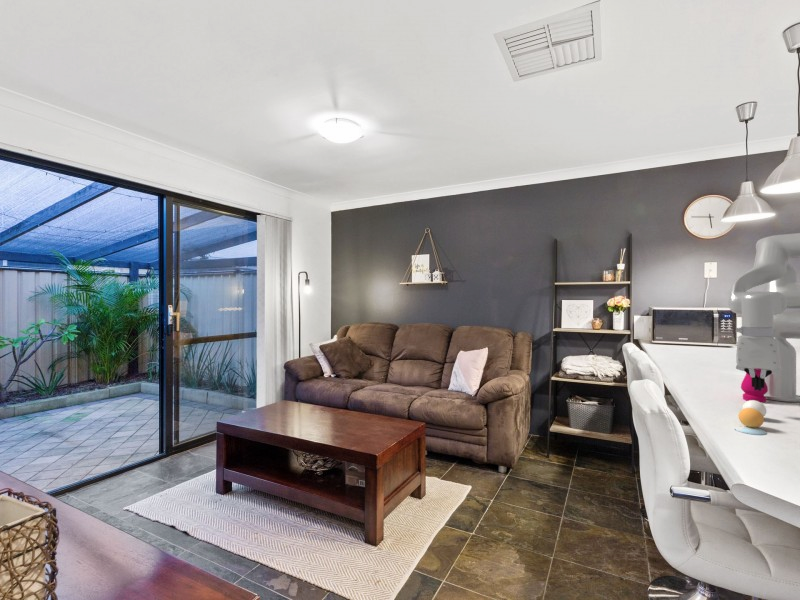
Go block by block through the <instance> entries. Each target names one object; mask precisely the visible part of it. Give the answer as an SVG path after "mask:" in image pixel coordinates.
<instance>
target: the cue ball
mask: <svg viewBox="0 0 800 600" xmlns="http://www.w3.org/2000/svg"><path fill="white" fill-rule="evenodd" d="M745 408H753V409H756V410H758V411H759V412H760V413H761V414H762V415H763V417H764V418H765V416H766V414H767V408H766V406H765V405H764V404H763V402H759V401H755V400H750V401H747V400H746V402H744V403H743V404H742V410H743V409H745Z"/></svg>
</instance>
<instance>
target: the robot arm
mask: <svg viewBox="0 0 800 600" xmlns="http://www.w3.org/2000/svg"><path fill="white" fill-rule="evenodd" d="M755 251H756V253H755V258H754V262H753V267H752V268H751V269H749V270H747V271H746V272H744V273H743V274H741V275H740V276H739V277H738V278H737V279H736V280H735V281H734V282H733V283H732V286H731V288H730V293H729V296H728V307H729V308H728V309H729V310H730V311H731V312H732V313H734V314H738V315H741V327H736V328H735V332H736V333H739V334H741V335H739V336H738V338H737V343H736V344H737V345H736V361H735V362H736V363H735V364H736V366H735V369H736V370H737V371H738V370H739V371H741V372H745V374H746V373H747V374H749V375H750V376H751V377H752V387H754V390H759V391H761V390H762V388H765V382H766V384H767V388H768V391H767V393H766V394H764V396H765V397H766V400H769V401H770V400H772V401H777V402H788V403H789V402H790V403H793V402H794V403H796V402H797V403H799V402H800V395H798V394H797V351H796V349H795V347H794V346H793V345H792V344H791V343H790V342H789V341H788V340H787V339H794V340H795V339H796V340H800V311H785V310H800V282H797V278H798V271H797V269H796V268H795V267H794V265H791V263H789V262H788V260H789V259H800V232H797V233H787V234H776V235H770V236H766V237H765V236H764V237H763V238H760V239H758V240H757V241H756V244H755ZM763 285H764V291H748V290H750V289H752V288H755V287H759V286H763ZM755 369H761V374H760V375H759V378H758V377H757V374H756V372H755Z"/></svg>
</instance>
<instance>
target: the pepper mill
mask: <svg viewBox="0 0 800 600" xmlns="http://www.w3.org/2000/svg"><path fill="white" fill-rule="evenodd" d="M755 372H756V374H757V377H758V378H759V375H760V374H761V369H755ZM740 388H741V391H742V392H743V394H742V400H744V401H746V402H747V401H750V400H755V401H759V402H761V403H766V402H767V399H766V397H765V396H764V394H766V393H767V391H768V388H767V384H766V382H765V388H762V390H761V391H759V390H754V387H752V377H751V376H750V375H749V374H747V373H746V372H745V375H744V378H743V380H742V381H741V384H740Z"/></svg>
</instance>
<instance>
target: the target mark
mask: <svg viewBox="0 0 800 600" xmlns="http://www.w3.org/2000/svg"><path fill="white" fill-rule="evenodd" d="M743 426H744V428H742V430H738V431H737V432H739V431H741V432H740V433H743V432H744V433H743V434H747V433H748V434H749V435H756V436H763V435H766V434H767V432H766V431H765V430H763V429H761V428H759V427H757V428H751V427H747V426H745V425H743ZM736 430H737V429H736ZM736 430H735V431H736Z"/></svg>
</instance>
